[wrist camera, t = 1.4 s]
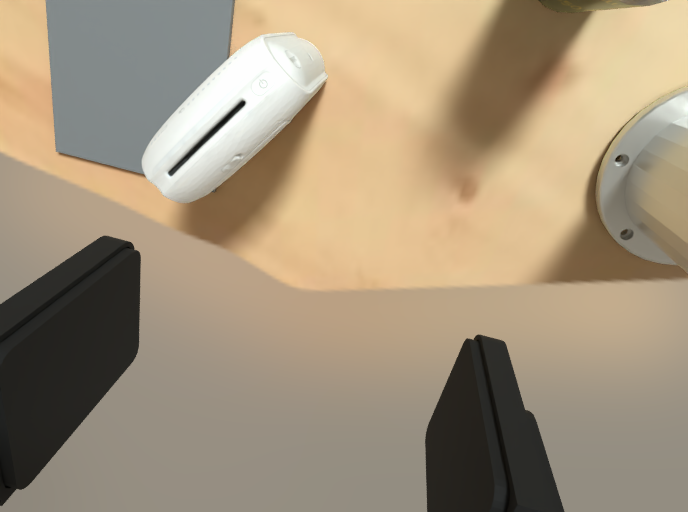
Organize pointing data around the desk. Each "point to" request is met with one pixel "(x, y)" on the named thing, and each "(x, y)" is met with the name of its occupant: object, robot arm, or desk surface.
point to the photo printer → (233, 115)
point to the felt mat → (128, 70)
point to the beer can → (594, 4)
